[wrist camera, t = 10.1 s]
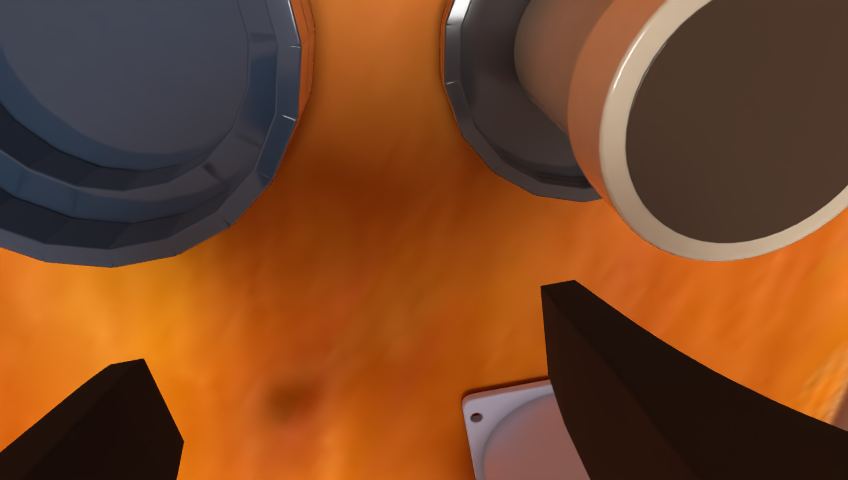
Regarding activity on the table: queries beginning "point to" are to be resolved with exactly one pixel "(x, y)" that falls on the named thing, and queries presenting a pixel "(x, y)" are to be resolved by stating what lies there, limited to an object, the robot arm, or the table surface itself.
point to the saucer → (503, 102)
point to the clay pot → (699, 114)
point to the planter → (143, 121)
